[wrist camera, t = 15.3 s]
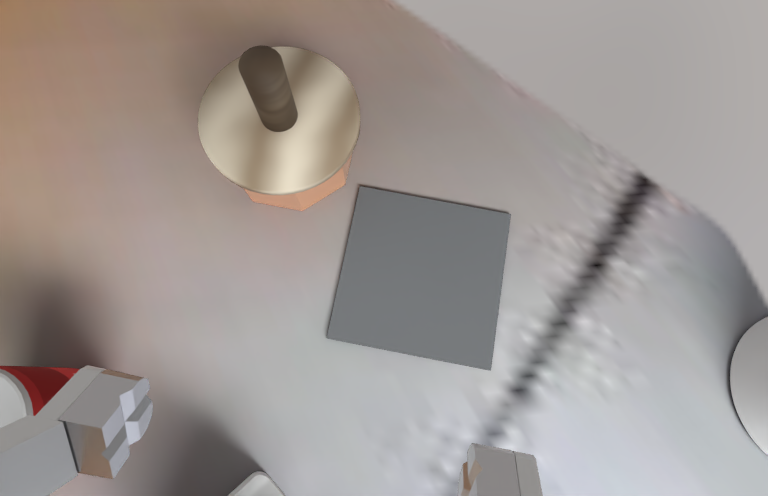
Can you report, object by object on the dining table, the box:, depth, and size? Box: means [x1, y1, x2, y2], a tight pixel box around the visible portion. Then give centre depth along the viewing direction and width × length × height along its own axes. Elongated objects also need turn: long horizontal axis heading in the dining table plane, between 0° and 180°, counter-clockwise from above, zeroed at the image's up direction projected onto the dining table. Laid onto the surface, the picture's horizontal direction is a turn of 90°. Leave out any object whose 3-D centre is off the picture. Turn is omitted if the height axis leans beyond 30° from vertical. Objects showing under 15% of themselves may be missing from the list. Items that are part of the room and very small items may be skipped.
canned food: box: [0, 366, 80, 428], centre depth 36 cm, size 8×8×11 cm
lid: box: [198, 46, 360, 195], centre depth 38 cm, size 14×14×8 cm
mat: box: [327, 186, 511, 370], centre depth 45 cm, size 15×15×1 cm
